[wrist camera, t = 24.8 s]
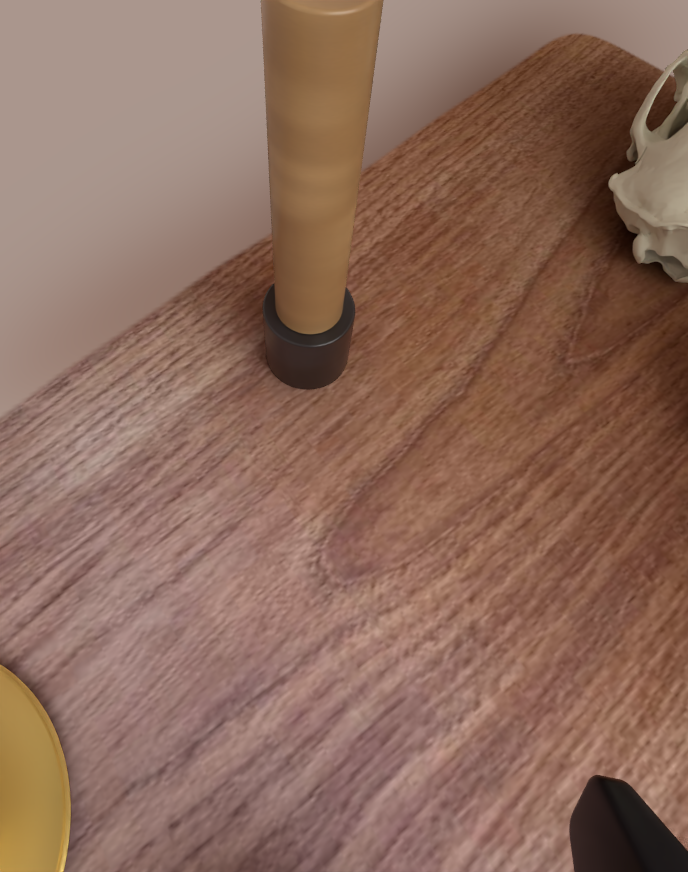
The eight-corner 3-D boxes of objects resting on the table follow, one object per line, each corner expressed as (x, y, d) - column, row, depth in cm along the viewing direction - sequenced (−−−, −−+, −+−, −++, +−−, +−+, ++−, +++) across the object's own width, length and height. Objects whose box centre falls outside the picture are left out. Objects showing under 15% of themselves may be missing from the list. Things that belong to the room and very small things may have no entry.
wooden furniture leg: (308, 405, 25) (326, 53, 11) (249, 353, 25) (196, -37, 12) (364, 354, 26) (444, -20, 12) (306, 306, 27) (320, -98, 13)
